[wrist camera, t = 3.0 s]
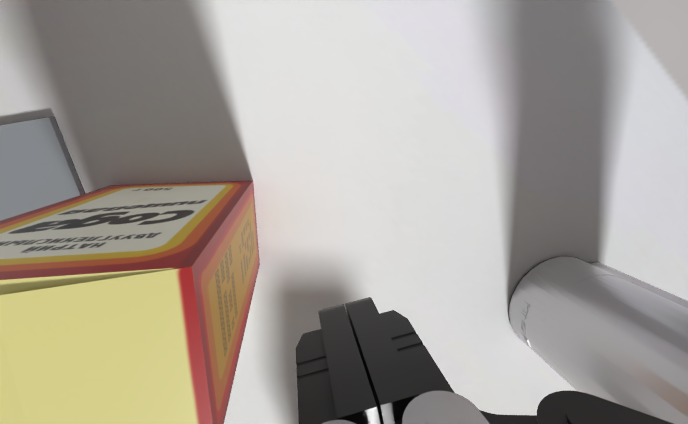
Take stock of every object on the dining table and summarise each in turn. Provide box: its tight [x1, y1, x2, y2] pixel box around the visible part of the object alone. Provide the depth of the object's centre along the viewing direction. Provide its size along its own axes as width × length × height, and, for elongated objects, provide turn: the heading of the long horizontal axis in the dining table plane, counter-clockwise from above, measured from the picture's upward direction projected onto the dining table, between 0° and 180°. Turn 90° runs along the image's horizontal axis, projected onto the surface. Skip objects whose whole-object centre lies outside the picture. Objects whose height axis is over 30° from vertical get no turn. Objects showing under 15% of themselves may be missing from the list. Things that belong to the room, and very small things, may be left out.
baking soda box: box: [0, 181, 260, 424], centre depth 17 cm, size 10×6×16 cm
